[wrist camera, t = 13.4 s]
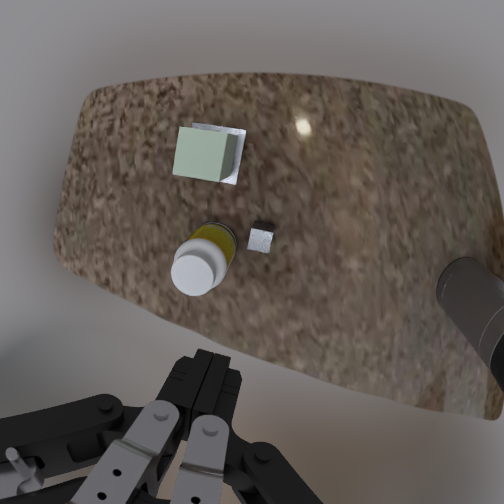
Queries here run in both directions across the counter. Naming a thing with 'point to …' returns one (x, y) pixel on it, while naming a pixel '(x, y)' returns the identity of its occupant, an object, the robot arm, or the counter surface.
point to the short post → (261, 236)
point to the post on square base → (238, 149)
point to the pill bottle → (203, 259)
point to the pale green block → (204, 154)
